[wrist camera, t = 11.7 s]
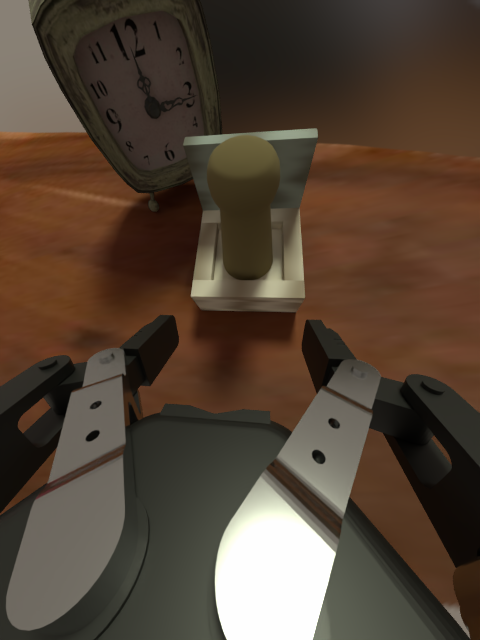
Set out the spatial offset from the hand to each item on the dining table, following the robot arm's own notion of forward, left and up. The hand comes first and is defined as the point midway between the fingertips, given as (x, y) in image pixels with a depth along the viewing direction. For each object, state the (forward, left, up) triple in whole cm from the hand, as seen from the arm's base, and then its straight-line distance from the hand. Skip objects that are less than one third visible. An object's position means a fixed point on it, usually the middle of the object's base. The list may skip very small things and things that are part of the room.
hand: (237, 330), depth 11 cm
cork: (0, -11, -8) cm, 13 cm away
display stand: (0, -11, -11) cm, 16 cm away
